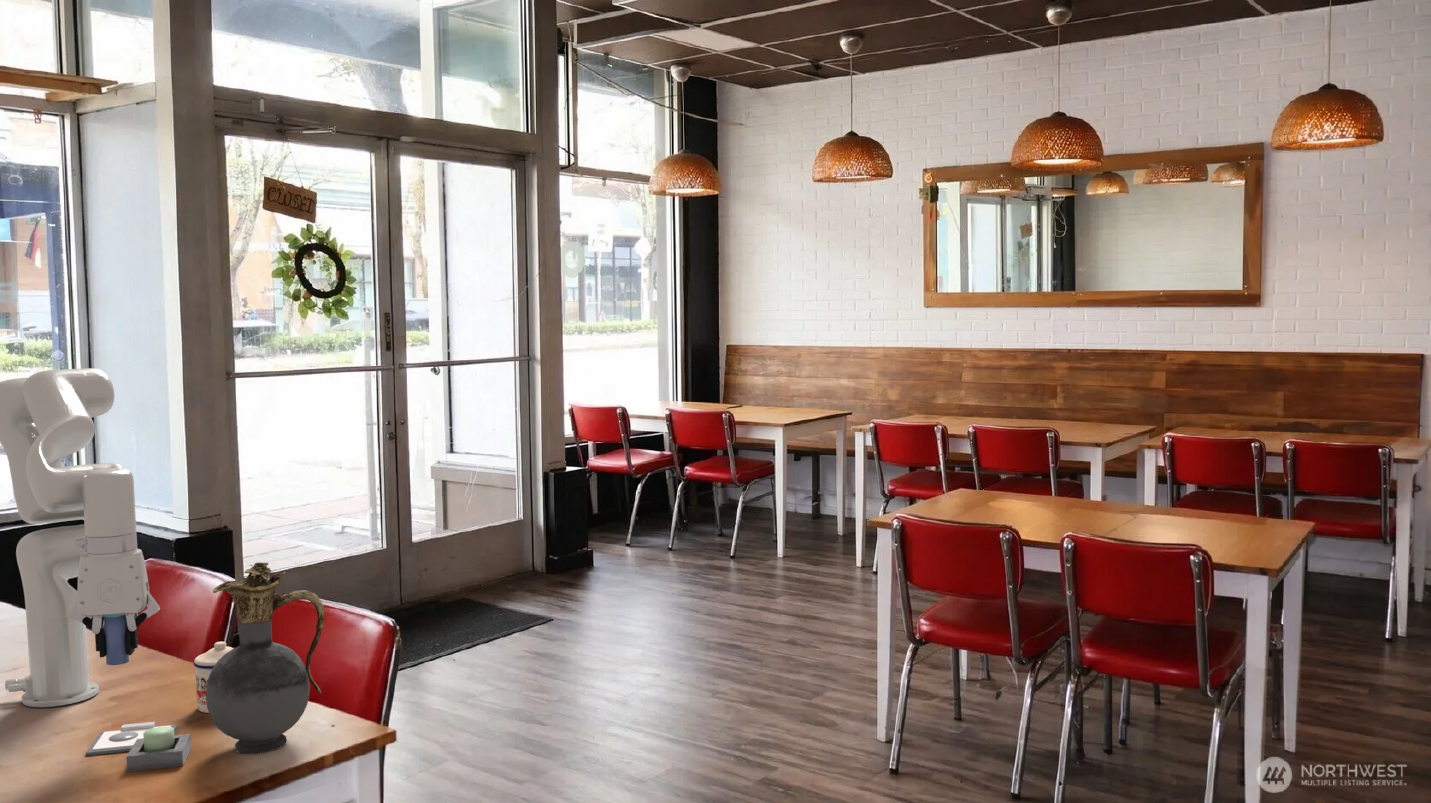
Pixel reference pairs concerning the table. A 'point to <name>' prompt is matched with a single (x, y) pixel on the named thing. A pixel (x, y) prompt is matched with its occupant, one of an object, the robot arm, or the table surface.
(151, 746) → the button
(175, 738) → the button base
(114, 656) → the cylinder
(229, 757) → the table surface
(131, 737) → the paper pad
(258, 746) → the pitcher
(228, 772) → the table surface
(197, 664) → the teacup with lid
